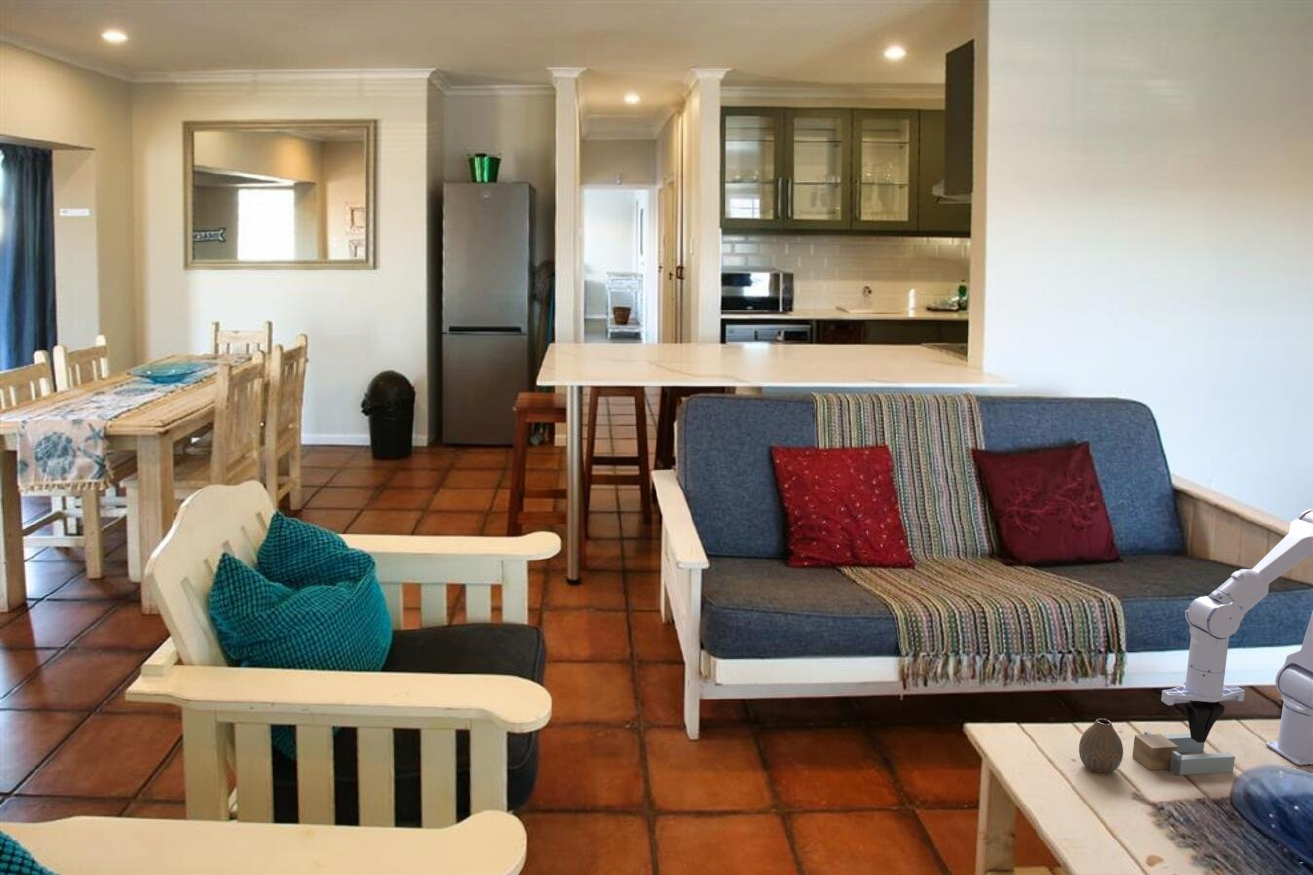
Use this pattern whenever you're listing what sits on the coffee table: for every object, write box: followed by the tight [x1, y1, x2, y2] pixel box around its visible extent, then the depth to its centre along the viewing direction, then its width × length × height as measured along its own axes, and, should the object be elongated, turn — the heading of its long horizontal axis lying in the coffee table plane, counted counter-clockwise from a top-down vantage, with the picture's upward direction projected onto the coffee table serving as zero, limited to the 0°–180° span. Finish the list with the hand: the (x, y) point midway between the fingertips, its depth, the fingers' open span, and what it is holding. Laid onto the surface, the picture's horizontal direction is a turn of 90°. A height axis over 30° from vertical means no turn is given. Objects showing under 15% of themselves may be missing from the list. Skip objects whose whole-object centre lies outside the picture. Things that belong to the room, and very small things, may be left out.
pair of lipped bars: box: [1143, 730, 1236, 776], centre depth 178 cm, size 11×9×4 cm
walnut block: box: [1132, 733, 1178, 771], centre depth 177 cm, size 5×5×4 cm
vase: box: [1078, 718, 1124, 776], centre depth 174 cm, size 7×7×9 cm
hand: (1197, 740), depth 178 cm, fingers closed
